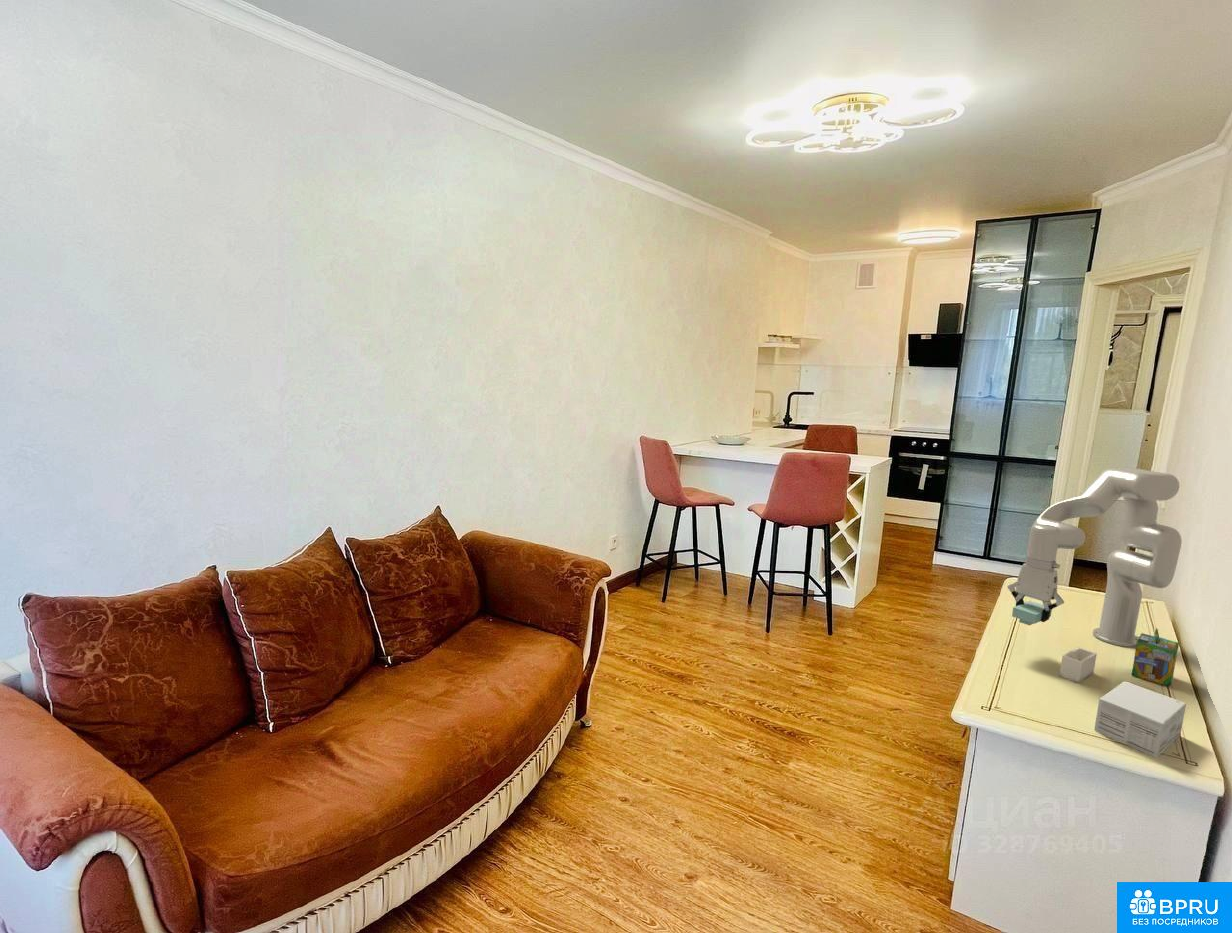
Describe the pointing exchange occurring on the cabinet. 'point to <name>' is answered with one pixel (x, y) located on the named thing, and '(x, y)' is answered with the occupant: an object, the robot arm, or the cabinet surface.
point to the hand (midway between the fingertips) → (1031, 616)
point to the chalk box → (1155, 659)
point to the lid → (1028, 612)
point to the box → (1077, 664)
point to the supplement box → (1140, 718)
